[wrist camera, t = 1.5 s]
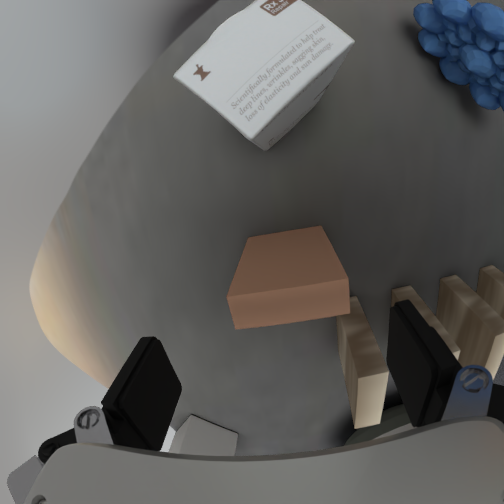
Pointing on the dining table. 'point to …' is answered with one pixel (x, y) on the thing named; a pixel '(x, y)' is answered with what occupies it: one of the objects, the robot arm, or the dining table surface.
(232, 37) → the skincare box
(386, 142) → the dining table surface
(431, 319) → the birch domino
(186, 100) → the dining table surface
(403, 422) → the bowl
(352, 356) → the birch domino
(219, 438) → the milk carton
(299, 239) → the terracotta domino
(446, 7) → the grapes
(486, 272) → the birch domino
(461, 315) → the birch domino
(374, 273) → the dining table surface
